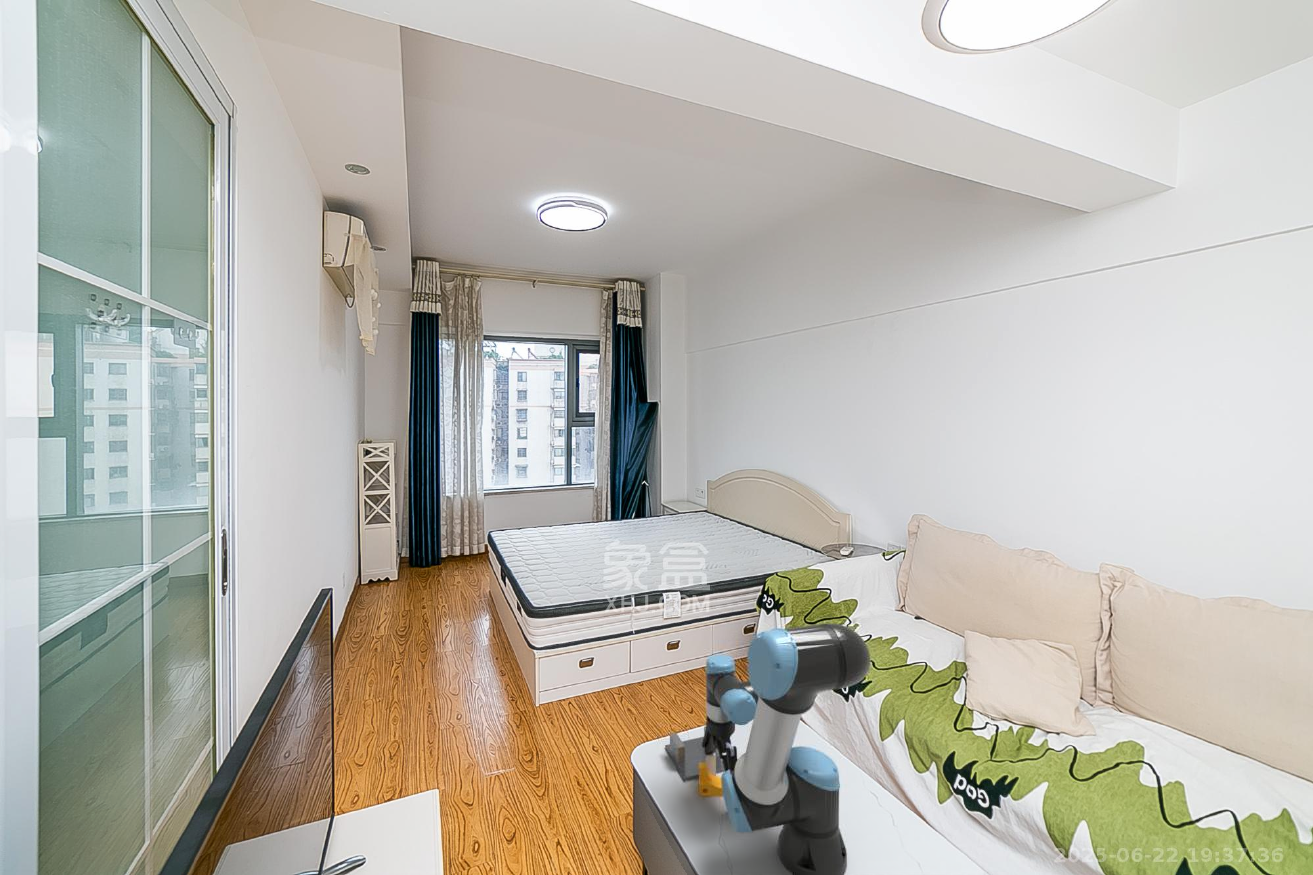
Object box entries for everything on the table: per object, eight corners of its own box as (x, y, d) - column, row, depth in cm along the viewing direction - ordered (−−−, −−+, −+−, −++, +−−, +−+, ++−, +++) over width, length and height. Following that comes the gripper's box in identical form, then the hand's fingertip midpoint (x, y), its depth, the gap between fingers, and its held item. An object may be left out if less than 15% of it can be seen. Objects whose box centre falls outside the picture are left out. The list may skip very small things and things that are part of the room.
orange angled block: (699, 796, 145) (699, 772, 145) (699, 784, 150) (698, 762, 149) (744, 797, 145) (744, 774, 144) (743, 786, 149) (743, 763, 148)
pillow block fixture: (726, 770, 155) (726, 746, 155) (684, 781, 151) (683, 756, 150) (704, 739, 170) (704, 717, 169) (665, 748, 165) (664, 725, 165)
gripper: (756, 739, 134) (756, 822, 135) (714, 690, 157) (714, 761, 158) (728, 745, 132) (729, 830, 133) (689, 694, 155) (690, 767, 156)
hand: (721, 793), depth 146 cm, fingers open, 12 cm apart
